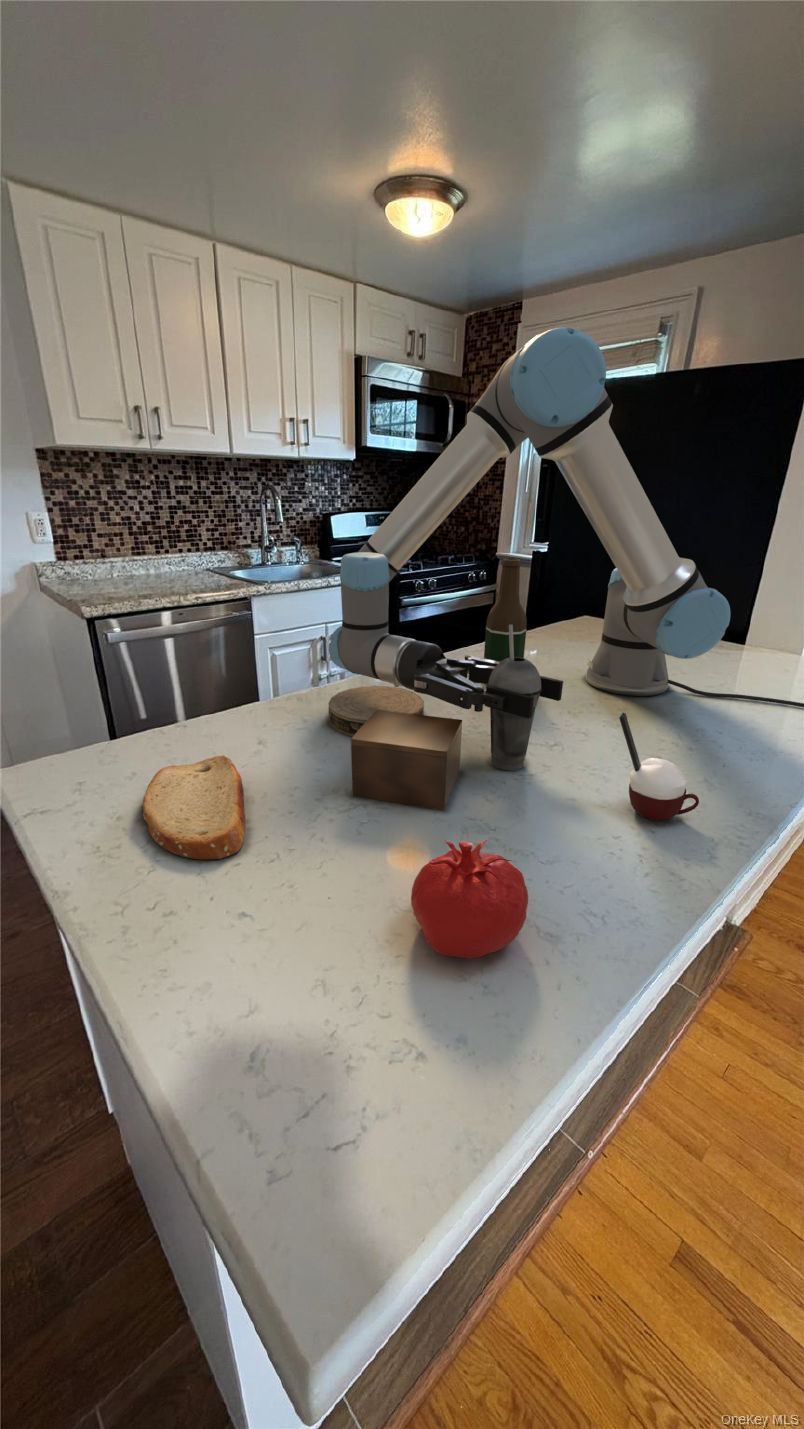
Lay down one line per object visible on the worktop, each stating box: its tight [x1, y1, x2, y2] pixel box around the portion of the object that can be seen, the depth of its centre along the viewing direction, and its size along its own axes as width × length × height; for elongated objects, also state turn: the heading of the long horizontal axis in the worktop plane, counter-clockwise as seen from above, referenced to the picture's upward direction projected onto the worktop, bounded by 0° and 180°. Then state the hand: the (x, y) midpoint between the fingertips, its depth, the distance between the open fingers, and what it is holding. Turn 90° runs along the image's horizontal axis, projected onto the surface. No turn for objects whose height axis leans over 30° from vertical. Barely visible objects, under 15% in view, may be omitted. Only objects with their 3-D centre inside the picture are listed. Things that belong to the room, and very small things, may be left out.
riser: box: [350, 710, 463, 811], centre depth 73 cm, size 12×10×8 cm
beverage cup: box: [486, 625, 542, 771], centre depth 77 cm, size 7×7×20 cm
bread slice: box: [142, 754, 246, 860], centre depth 68 cm, size 18×18×4 cm
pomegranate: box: [410, 839, 529, 959], centre depth 49 cm, size 10×10×9 cm
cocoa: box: [618, 711, 700, 822], centre depth 67 cm, size 10×6×12 cm, turn 38°
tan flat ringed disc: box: [327, 685, 425, 737], centre depth 95 cm, size 16×16×3 cm
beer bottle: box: [483, 557, 528, 662], centre depth 110 cm, size 8×8×24 cm
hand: (546, 699), depth 74 cm, fingers open, 8 cm apart
